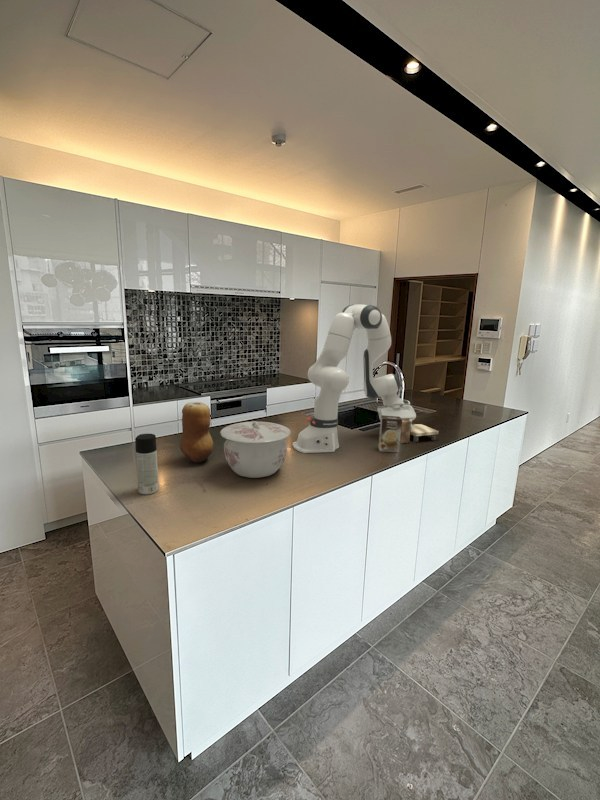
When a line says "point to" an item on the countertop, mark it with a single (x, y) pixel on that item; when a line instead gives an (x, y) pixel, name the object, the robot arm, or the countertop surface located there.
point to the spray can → (147, 463)
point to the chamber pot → (255, 447)
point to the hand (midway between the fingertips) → (402, 428)
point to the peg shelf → (422, 432)
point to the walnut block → (405, 431)
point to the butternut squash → (196, 432)
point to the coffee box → (390, 433)
